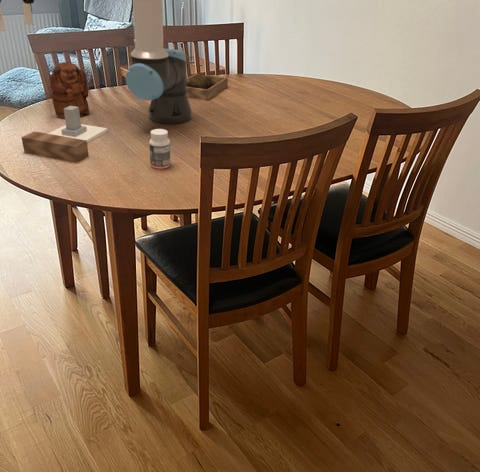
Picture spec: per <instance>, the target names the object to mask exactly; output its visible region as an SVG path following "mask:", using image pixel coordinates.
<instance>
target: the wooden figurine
mask: <svg viewBox="0 0 480 472" xmlns="http://www.w3.org/2000/svg"><path fill="white" fill-rule="evenodd" d="M49 84H50V90H51V91H52V94H51V95H52V96H51V97H52V104H53V108H54V109H53V110H54V112H55V115H56V118H59V119H63V120H65V115H64V108H66V107H69V106H75V107H79V114H80V118H82V117H84V116H86V115H90V107H89V102H88V99H87V98H88V97H89V87H88V80H87V75H86V73H85V71H83V70H82V69H81V68H79V67H78V66H77V64H75V63H73V62H69V61H64V62H59V64H57V65H56V66H55V67H54V68H53V69H52V73H50V75H49Z"/></svg>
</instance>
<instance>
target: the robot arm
mask: <svg viewBox="0 0 480 472" xmlns="http://www.w3.org/2000/svg"><path fill="white" fill-rule="evenodd" d="M1 2H2V0H0V3H1ZM22 2H23V3H21V5H22V11H23V19H24V23H25V25H29V26H32V25H34V24H35V23H34V20H33V8H32V4H34V2H35V0H22ZM132 9H133V11H132V12H133V29H134V49H133V50H132V51H131V52H130V66H129V67H128V69H127V70H126V71H125V72H126V73H125V83H126V86H127V88H128V90H129V92H130V93H132V94H133V96H134V97H135V98H137V99H139V100H141V101H147V102H148V101H151V102H150V105H149V109H148V118H149V120H151V121H153V122H156V123H160V124H168V125H169V124H181V123H185V122H188V121H190V120H191V119H192V118H193V112H192V107H191V105H190V102H189V98H187V93H186V79H187V63H188V62H187V55H186V52H185V51H183V50H180V49H174V48H164V22H163V21H164V17H163V16H164V15H163V12H164V10H163V0H132ZM4 21H5V20H4V16H3V10H2V8H1V7H0V31H6V27H5V22H4Z"/></svg>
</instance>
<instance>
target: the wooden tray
mask: <svg viewBox="0 0 480 472" xmlns="http://www.w3.org/2000/svg"><path fill="white" fill-rule="evenodd" d="M197 74H198V73H194V74H192V75H191V76H188V77H186V80H188V79H191V78H193V77H194V76H196V75H197ZM205 75H206V74H205ZM206 76H207V77H209V78H210V79H211V80H212V81H213V82H214V83H215V85H213V86H212V87H210V88H209V89H200V88H192V87H186V93H187V98H188V99H194V100H195V99H196V100H200V101H202V100H203V101H207V102H208V101H210V100H212V99H213V98H214V97H216V96H217V95H218V94H220V93H221V92H223V91H225V90H226V89H227V88H228V80H229V78H228V77H224V76H216V75H209V74H207V75H206Z"/></svg>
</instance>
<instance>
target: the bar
mask: <svg viewBox="0 0 480 472" xmlns="http://www.w3.org/2000/svg"><path fill="white" fill-rule="evenodd" d="M21 142H22V147H23V152H24V154H29V155H35V156H39V157H46V158H50V159H55V160H61V161H67V162H71V163H76V164H78V163H79V162H81V161H82V160H84V159H86V158H88V157H90V156H89V155H90V154H89V148H88V143H87V140H81V139H75V138H70V137H64V136H58V135H52V134H48V133H46V132H39V131H32V132H30V133H27V134H25V135H23V136H21Z"/></svg>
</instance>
